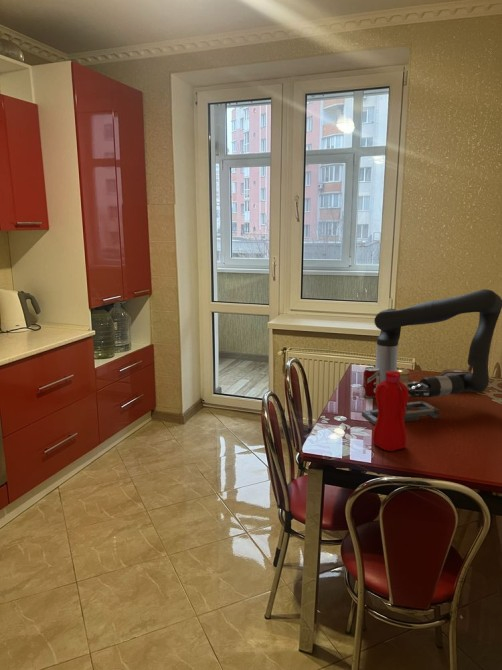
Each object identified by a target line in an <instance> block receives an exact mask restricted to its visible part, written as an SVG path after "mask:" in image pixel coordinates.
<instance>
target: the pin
mask: <svg viewBox="0 0 502 670" xmlns="http://www.w3.org/2000/svg"><path fill="white" fill-rule="evenodd" d="M396 371H397V372H400V382H402V383H403V384H404V385H406V387H407V385H408V380H409V375H410V370H409V369H406V368H397V369H396Z"/></svg>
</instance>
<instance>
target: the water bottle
mask: <svg viewBox="0 0 502 670" xmlns="http://www.w3.org/2000/svg"><path fill="white" fill-rule="evenodd" d="M375 396H376V398H375V402H376V407H377V409H378V415H377V417H376V418H377V421H376V425H374V428H373V432H372V433H373V434H372V435H373V436H372V441H373V442H372V443H374V444H375V446H377V447H379V448H380V449H382V450H383V449H384V451H385V450H387V451H386V452H394V451H398V450H401V449H402V450H403V449H404V448H405V447H406V445H407V430H406V425H405V424H406V423H405V422H404V417H405V413H406V406H407V403H409V399H410V396H409V394H408V388H407V387H406V385H404V384H403V383H402V382H400V372H397V371H387V372H386V380H385V381H383V382H381V383H379V384H378V386H377V388H376V392H375ZM397 449H398V450H397Z"/></svg>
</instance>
